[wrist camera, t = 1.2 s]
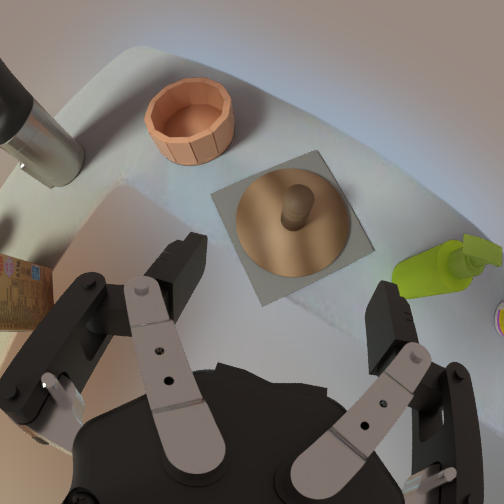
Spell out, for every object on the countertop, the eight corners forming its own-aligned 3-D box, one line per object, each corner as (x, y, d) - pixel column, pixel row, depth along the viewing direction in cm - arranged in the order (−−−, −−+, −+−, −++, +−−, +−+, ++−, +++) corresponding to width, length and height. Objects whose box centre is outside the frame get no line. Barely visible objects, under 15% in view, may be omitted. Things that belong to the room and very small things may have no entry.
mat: (262, 306, 41) (262, 306, 40) (210, 195, 44) (210, 194, 44) (373, 251, 42) (373, 250, 41) (315, 151, 45) (316, 149, 45)
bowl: (172, 179, 45) (158, 157, 38) (150, 123, 48) (137, 99, 41) (247, 145, 46) (244, 120, 39) (217, 94, 48) (211, 67, 41)
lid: (265, 297, 41) (266, 292, 32) (219, 197, 44) (208, 169, 35) (365, 247, 41) (388, 231, 33) (314, 157, 45) (323, 124, 36)
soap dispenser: (389, 254, 41) (466, 211, 22) (426, 265, 41) (512, 232, 21) (382, 293, 40) (463, 274, 21) (421, 302, 40) (510, 289, 20)
